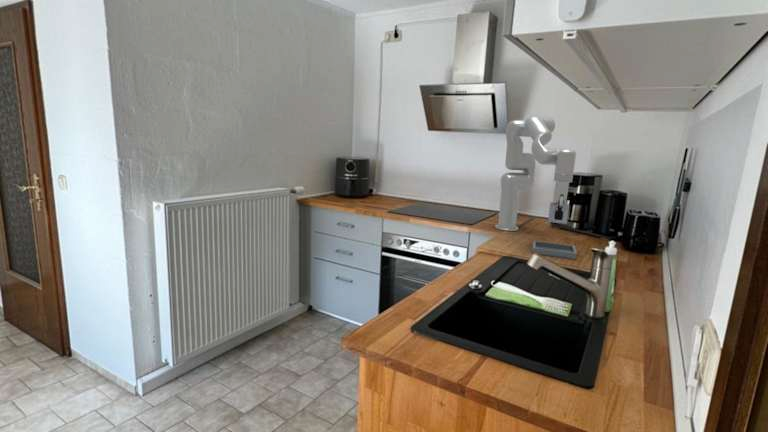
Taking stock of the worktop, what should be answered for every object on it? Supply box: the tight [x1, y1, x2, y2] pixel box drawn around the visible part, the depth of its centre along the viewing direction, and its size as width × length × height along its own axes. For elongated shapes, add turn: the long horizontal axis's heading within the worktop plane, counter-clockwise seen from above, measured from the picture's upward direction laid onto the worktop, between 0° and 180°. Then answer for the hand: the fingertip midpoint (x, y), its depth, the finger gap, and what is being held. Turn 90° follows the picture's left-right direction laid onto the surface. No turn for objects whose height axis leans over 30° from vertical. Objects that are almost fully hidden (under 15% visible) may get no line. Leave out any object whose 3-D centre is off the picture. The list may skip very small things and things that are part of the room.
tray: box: [532, 240, 578, 260], centre depth 187 cm, size 14×18×3 cm
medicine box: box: [547, 201, 570, 225], centre depth 183 cm, size 8×4×9 cm, turn 65°
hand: (557, 218), depth 184 cm, fingers closed on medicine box, 4 cm apart
